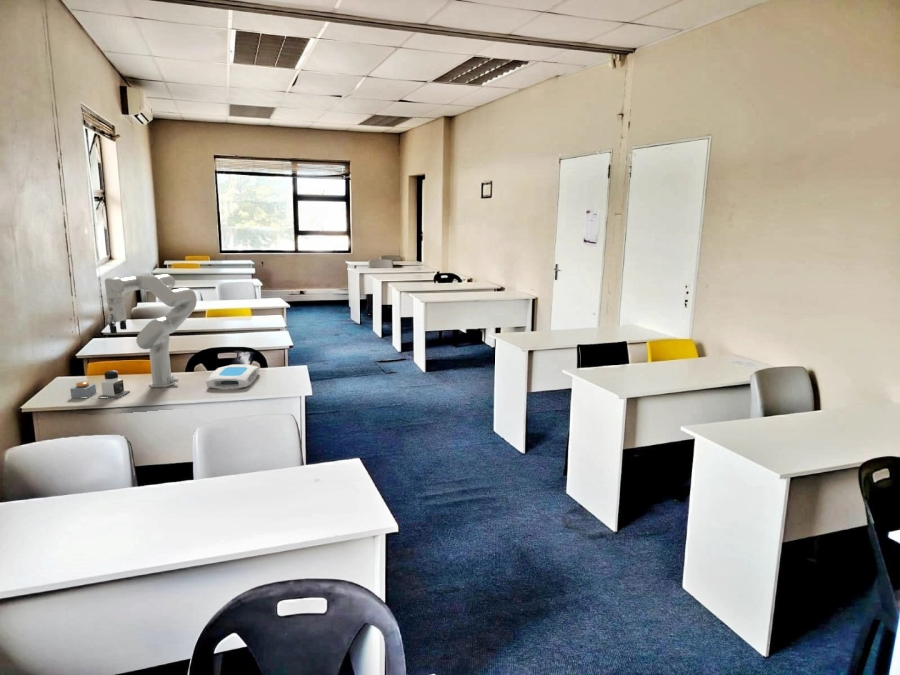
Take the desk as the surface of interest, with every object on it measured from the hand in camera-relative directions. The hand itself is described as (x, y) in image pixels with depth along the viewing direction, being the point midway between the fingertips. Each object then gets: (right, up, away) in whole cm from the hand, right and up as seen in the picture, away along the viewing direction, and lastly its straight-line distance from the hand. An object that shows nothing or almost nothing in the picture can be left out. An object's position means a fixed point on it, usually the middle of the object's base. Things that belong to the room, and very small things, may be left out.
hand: (118, 331), depth 324 cm
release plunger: (-7, -33, -19) cm, 39 cm away
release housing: (-7, -33, -19) cm, 39 cm away
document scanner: (+61, -28, +8) cm, 67 cm away
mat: (+8, -33, -18) cm, 39 cm away
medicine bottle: (+7, -33, -18) cm, 38 cm away
